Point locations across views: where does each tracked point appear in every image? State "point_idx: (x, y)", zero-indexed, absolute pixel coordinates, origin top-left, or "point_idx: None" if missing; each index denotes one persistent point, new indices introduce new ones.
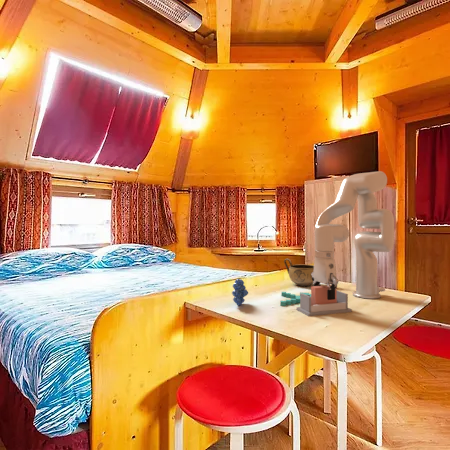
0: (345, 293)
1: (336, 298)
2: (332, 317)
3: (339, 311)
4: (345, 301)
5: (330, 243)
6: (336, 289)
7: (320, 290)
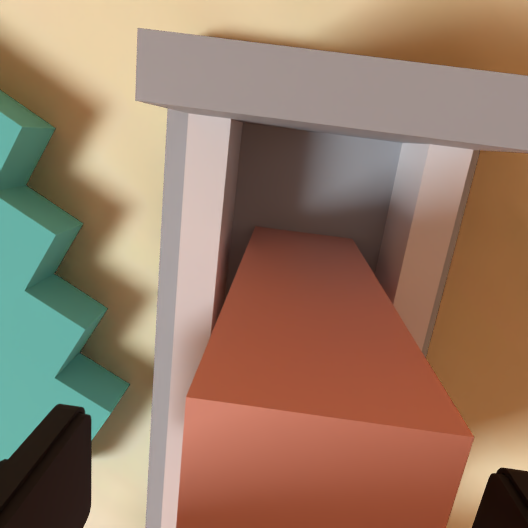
0: (506, 88)
1: (378, 284)
2: (505, 440)
3: (441, 275)
4: (477, 149)
5: None
6: (431, 374)
7: None
